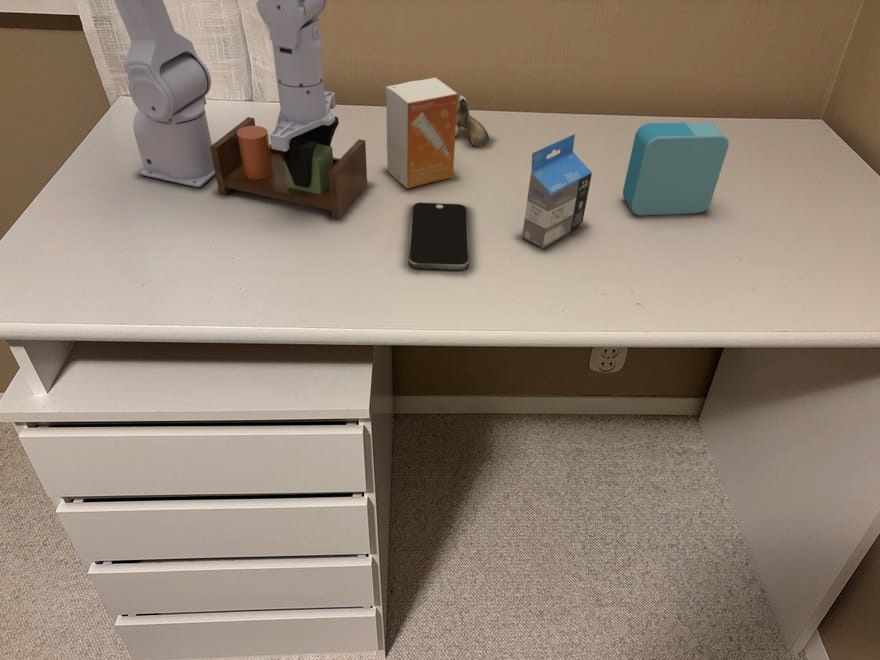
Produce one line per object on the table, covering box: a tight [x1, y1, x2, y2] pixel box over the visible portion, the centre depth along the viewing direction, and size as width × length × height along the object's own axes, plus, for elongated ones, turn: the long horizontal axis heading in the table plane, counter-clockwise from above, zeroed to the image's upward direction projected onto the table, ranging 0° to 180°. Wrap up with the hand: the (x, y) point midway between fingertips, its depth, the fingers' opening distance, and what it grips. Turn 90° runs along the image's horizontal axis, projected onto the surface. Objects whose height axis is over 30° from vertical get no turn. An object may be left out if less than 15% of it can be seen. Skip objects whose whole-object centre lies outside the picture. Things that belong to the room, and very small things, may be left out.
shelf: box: [210, 116, 368, 220], centre depth 101 cm, size 10×18×7 cm, turn 74°
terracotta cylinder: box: [237, 125, 273, 180], centre depth 99 cm, size 4×4×6 cm
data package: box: [622, 121, 730, 216], centre depth 102 cm, size 12×4×12 cm, turn 100°
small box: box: [385, 77, 458, 190], centre depth 104 cm, size 8×6×13 cm
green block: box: [284, 144, 334, 195], centre depth 98 cm, size 5×4×5 cm
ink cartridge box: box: [521, 133, 593, 249], centre depth 95 cm, size 9×4×12 cm, turn 137°
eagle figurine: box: [455, 95, 490, 148], centre depth 117 cm, size 8×7×9 cm
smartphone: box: [408, 202, 470, 270], centre depth 96 cm, size 8×1×15 cm
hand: (310, 177), depth 99 cm, fingers closed on green block, 4 cm apart
